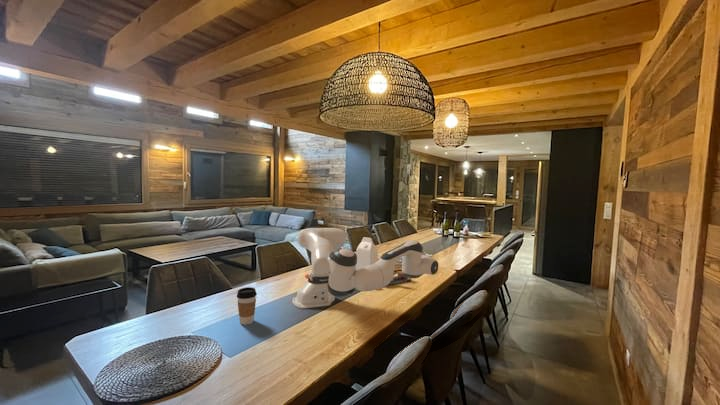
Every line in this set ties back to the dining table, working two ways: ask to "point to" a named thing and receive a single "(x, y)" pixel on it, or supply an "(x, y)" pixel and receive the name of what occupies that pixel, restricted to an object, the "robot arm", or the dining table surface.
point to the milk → (366, 253)
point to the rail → (399, 279)
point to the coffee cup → (246, 305)
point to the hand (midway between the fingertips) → (398, 254)
